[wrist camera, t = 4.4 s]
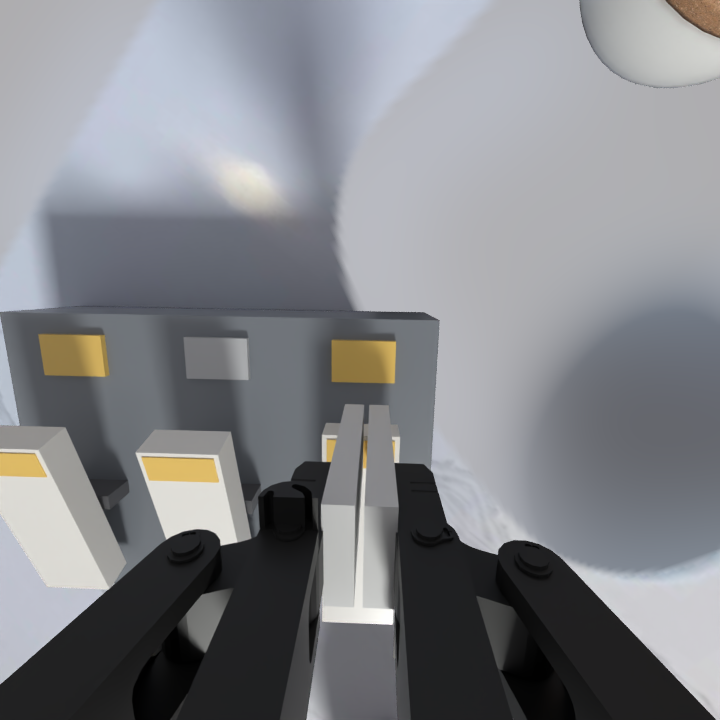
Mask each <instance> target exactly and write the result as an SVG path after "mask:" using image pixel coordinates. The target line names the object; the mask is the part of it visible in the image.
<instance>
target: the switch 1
mask: <svg viewBox="0 0 720 720" xmlns="http://www.w3.org/2000/svg"><path fill="white" fill-rule="evenodd" d="M0 514H1V516H2V517H3V519H4V521H5V522H6V524H7V525H8V527H9V528H10V530H11V532H12V533H13V535H14V536H15V538H16V539H17V541H18V542H19V544H20V546H21V547H22V549H23V550H24V552H25V553H26V555H27V557H28V558H29V560H30V561H31V563H32V564H33V566H34V567H35V569H36V571H37V572H38V574H39V575H40V577H41V578H42V580H43V582H44V583H45V585H46V586H47V587H57V588H83V589H110V588H111V587H112V585H113V584H114V582H115V581H116V579H117V577H118V576H119V574H120V573H121V571H122V569H123V568H124V566H125V565H126V561H125V558H124V556H123V554H122V552H121V549H120V547H119V545H118V543H117V541H116V538H115V536H114V534H113V532H112V530H111V527H110V525H109V523H108V521H107V518H106V516H105V514H104V512H103V510H102V507H101V505H100V503H99V501H98V499H97V496H96V494H95V492H94V490H93V487H92V485H91V483H90V481H89V479H88V476H87V474H86V472H85V470H84V467H83V465H82V463H81V461H80V459H79V456H78V454H77V452H76V450H75V448H74V445H73V443H72V441H71V439H70V436H69V434H68V432H67V430H66V428H65V427H41V426H4V425H0Z"/></svg>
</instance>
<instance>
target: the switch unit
mask: <svg viewBox="0 0 720 720" xmlns="http://www.w3.org/2000/svg"><path fill="white" fill-rule="evenodd" d="M0 316H1V322H2V328H3V333H4V339H5V344H6V350H7V356H8V361H9V367H10V372H11V378H12V384H13V389H14V395H15V400H16V406H17V412H18V417H19V423H20V426H41V427H65V428H66V430H67V432H68V434H69V436H70V439H71V441H72V443H73V445H74V448H75V450H76V452H77V454H78V456H79V459H80V461H81V463H82V465H83V467H84V470H85V472H86V474H87V476H88V479H89V481H90V483H91V485H92V487H93V490H94V492H95V494H96V496H97V499H98V501H99V503H100V505H101V507H102V510H103V512H104V514H105V516H106V518H107V521H108V523H109V525H110V527H111V530H112V532H113V534H114V536H115V538H116V541H117V543H118V545H119V547H120V549H121V552H122V554H123V556H124V558H125V561H126V565H125V566H124V568H123V569H122V571H121V573H120V574H119V576H118V577H117V579H116V581H115V582H114V583H116V582H118V581H119V580H120V579H121V578H122V577H123V576H124V575H126V574H127V573H128V572H129V571H130V570H131V569H132V568H134V567H135V566H136V565H137V564H138V563H139V562H140V561H141V560H143V559H144V558H145V557H146V556H147V555H148V554H149V553H151V552H152V551H153V550H154V549H155V548H156V547H157V546H159V545H160V544H161V543H162V542H164V541H165V540H166V537H165V534H164V532H163V529H162V526H161V523H160V520H159V518H158V515H157V512H156V509H155V506H154V504H153V501H152V498H151V495H150V492H149V490H148V487H147V484H146V481H145V478H144V475H143V473H142V470H141V467H140V464H139V461H138V459H137V456H136V453H135V452H136V451H137V450H138V449H139V448H140V446H141V445H142V444H143V443H144V442H145V440H146V439H147V438H148V437H149V436H150V434H151V433H152V432H153V431H154V430H189V431H226V432H231V436H232V441H233V446H234V451H235V456H236V462H237V467H238V472H239V477H240V482H241V487H242V492H243V498H244V503H245V508H246V513H247V518H248V523H249V529H250V534H251V538H253V537H256V536H257V534H258V532H259V530H260V527H259V508H258V496H259V495H260V493H261V492H262V491H263V490H264V489H266V488H268V487H269V486H271V485H274V484H277V483H280V482H286V481H291V478H292V475H293V473H294V470H295V469H296V468H297V467H298V466H300V465H301V464H302V463H303V462H305V461H316V462H322V433H323V430H324V427H325V424H326V423H341V419H342V415H343V411H344V406H345V404H360V405H364V424H368V423H369V405H389V414H390V424H391V425H398V429H399V434H400V452H399V463H413V464H424V465H425V466H426V467H427V468H428V469H429V470H430V471H431V455H432V439H433V422H434V405H435V388H436V371H437V354H438V336H439V320H438V319H436V318H434V317H432V316H430V315H428V314H426V313H423V312H422V313H421V312H417V313H416V312H369V311H315V310H260V309H206V308H152V307H98V306H76V307H62V308H49V309H35V310H21V311H8V312H0Z"/></svg>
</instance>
